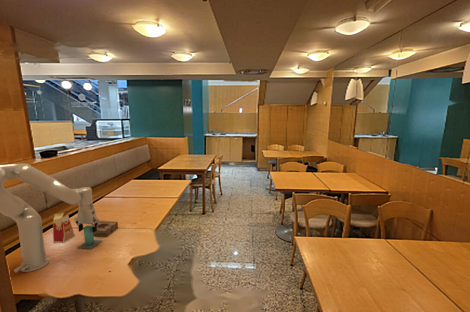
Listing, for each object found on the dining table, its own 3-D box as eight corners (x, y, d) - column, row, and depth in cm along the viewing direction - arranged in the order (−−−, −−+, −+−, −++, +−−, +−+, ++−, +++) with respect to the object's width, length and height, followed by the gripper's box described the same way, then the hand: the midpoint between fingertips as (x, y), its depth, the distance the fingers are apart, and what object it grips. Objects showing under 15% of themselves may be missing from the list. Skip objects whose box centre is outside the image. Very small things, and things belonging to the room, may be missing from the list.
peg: (90, 246, 144) (88, 229, 142) (83, 245, 145) (81, 228, 143) (96, 242, 149) (94, 225, 147) (89, 241, 150) (87, 225, 148)
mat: (91, 249, 142) (91, 248, 141) (77, 248, 143) (77, 247, 142) (102, 241, 151) (102, 240, 151) (88, 240, 152) (88, 239, 152)
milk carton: (75, 236, 157) (72, 209, 154) (64, 243, 148) (60, 215, 145) (63, 235, 158) (60, 209, 155) (51, 242, 149) (48, 214, 146)
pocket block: (105, 237, 156) (105, 230, 156) (87, 236, 158) (86, 229, 157) (118, 227, 170) (117, 221, 169) (101, 226, 172) (100, 220, 171)
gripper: (102, 205, 146) (104, 229, 148) (78, 203, 147) (80, 227, 150) (94, 209, 138) (95, 235, 141) (68, 207, 140) (71, 233, 142)
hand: (87, 231), depth 145 cm, fingers open, 9 cm apart
